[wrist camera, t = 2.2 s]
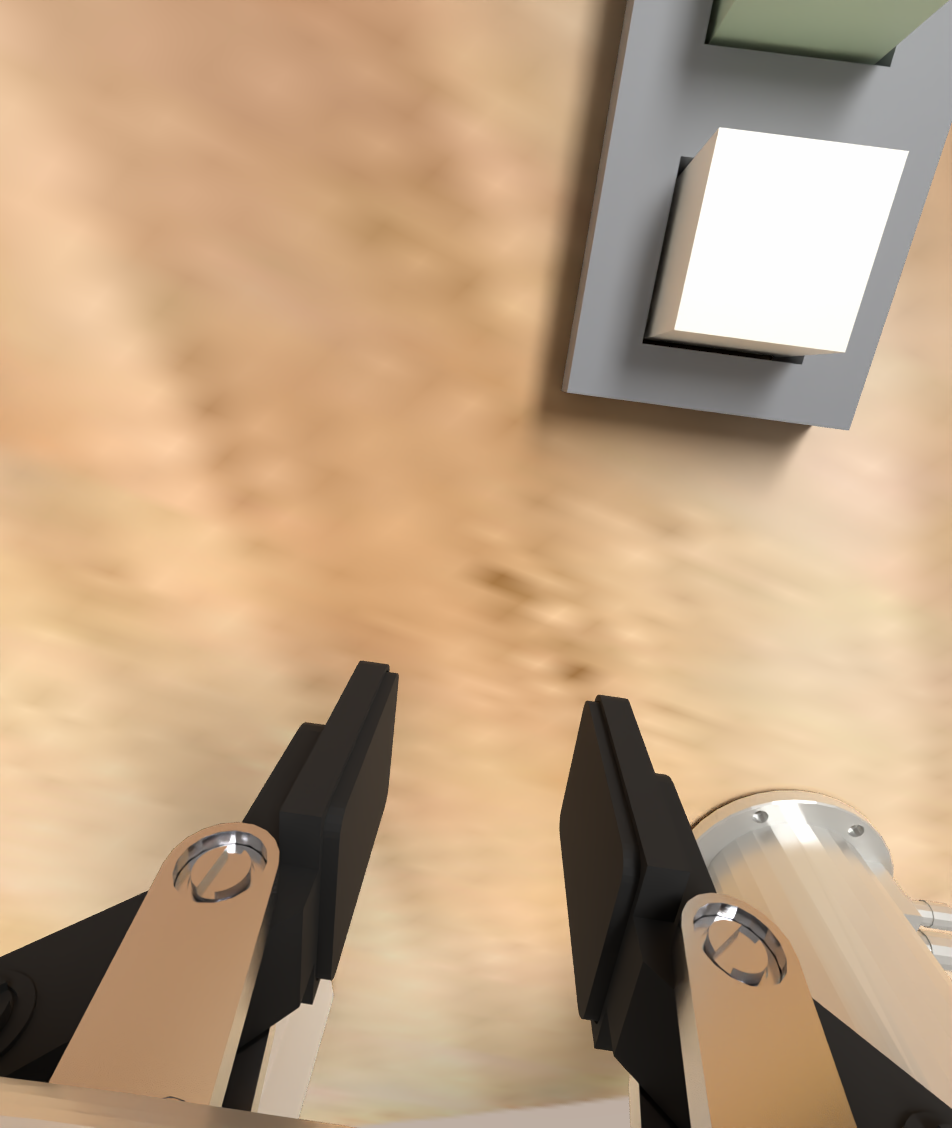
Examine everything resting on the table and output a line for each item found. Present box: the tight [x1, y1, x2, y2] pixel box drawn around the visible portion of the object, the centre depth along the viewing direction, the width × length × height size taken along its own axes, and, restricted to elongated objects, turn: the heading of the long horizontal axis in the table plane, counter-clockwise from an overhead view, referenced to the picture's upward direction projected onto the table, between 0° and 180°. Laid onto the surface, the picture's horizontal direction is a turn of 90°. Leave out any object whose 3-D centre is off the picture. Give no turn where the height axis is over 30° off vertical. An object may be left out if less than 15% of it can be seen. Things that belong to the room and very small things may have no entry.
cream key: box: [643, 127, 909, 357], centre depth 21 cm, size 6×6×5 cm
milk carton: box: [257, 979, 334, 1119], centre depth 31 cm, size 7×7×19 cm
